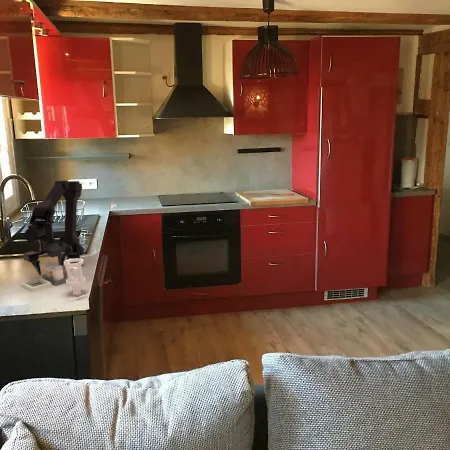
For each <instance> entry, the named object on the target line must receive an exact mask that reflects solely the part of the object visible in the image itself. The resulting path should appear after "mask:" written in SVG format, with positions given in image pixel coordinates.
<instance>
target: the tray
mask: <svg viewBox="0 0 450 450" xmlns="http://www.w3.org/2000/svg"><path fill="white" fill-rule="evenodd" d="M37 283H41V284H39V285H36V286H32V285H34V284H37ZM20 284H21V287H22V288H24V289H26V290H27V291H30V292H31V293H33V292H37V291H40V290H44V289H47V288H52V285H53V284H51V282H49V281H47V280H44V279H43V277H37V278H33V279H30V280H26V281H23V282H21V283H20Z"/></svg>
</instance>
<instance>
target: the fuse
mask: <svg viewBox="0 0 450 450" xmlns="http://www.w3.org/2000/svg"><path fill="white" fill-rule="evenodd" d="M63 267H64V265H63V266H61V265H59V264H55V266H52V271H53V279H54V280H60V279H64V277H65V276H64V271H63V269H64V268H63Z"/></svg>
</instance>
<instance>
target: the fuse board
mask: <svg viewBox="0 0 450 450" xmlns="http://www.w3.org/2000/svg"><path fill="white" fill-rule="evenodd" d="M41 278H42V279H44V280H47V281H49V282H51V284H52V285H54V286H56V287H58V286H62V285H64V284H66V280H67V279H68V276H67V277H66V276H64V279H60V280H54V279H53V276H51V277H47V276H46V273H45V274H41Z"/></svg>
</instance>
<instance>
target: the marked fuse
mask: <svg viewBox="0 0 450 450" xmlns="http://www.w3.org/2000/svg"><path fill="white" fill-rule="evenodd" d="M43 265H44V271H45V274H46V276H47V277H51V276H53V271H52V266H55V265H56V263H55V262H53V261H49V262H48V261H47V262H45V263H44V264H43Z"/></svg>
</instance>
